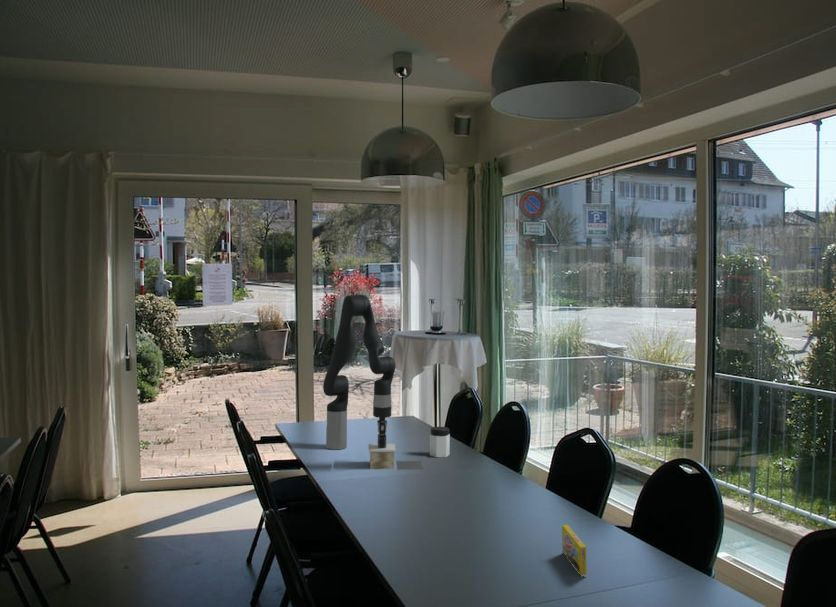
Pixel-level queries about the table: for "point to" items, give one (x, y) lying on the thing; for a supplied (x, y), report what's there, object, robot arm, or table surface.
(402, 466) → the mat
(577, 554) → the candy box
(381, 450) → the lid
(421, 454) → the table surface
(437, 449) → the jar
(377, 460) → the crate
